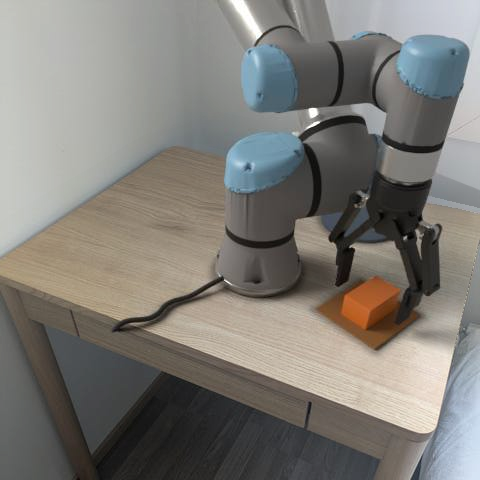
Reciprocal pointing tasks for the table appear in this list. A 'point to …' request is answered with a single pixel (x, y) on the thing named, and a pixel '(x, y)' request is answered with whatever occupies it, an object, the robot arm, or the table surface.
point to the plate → (353, 226)
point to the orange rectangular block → (370, 302)
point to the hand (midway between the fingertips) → (370, 301)
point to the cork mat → (369, 336)
